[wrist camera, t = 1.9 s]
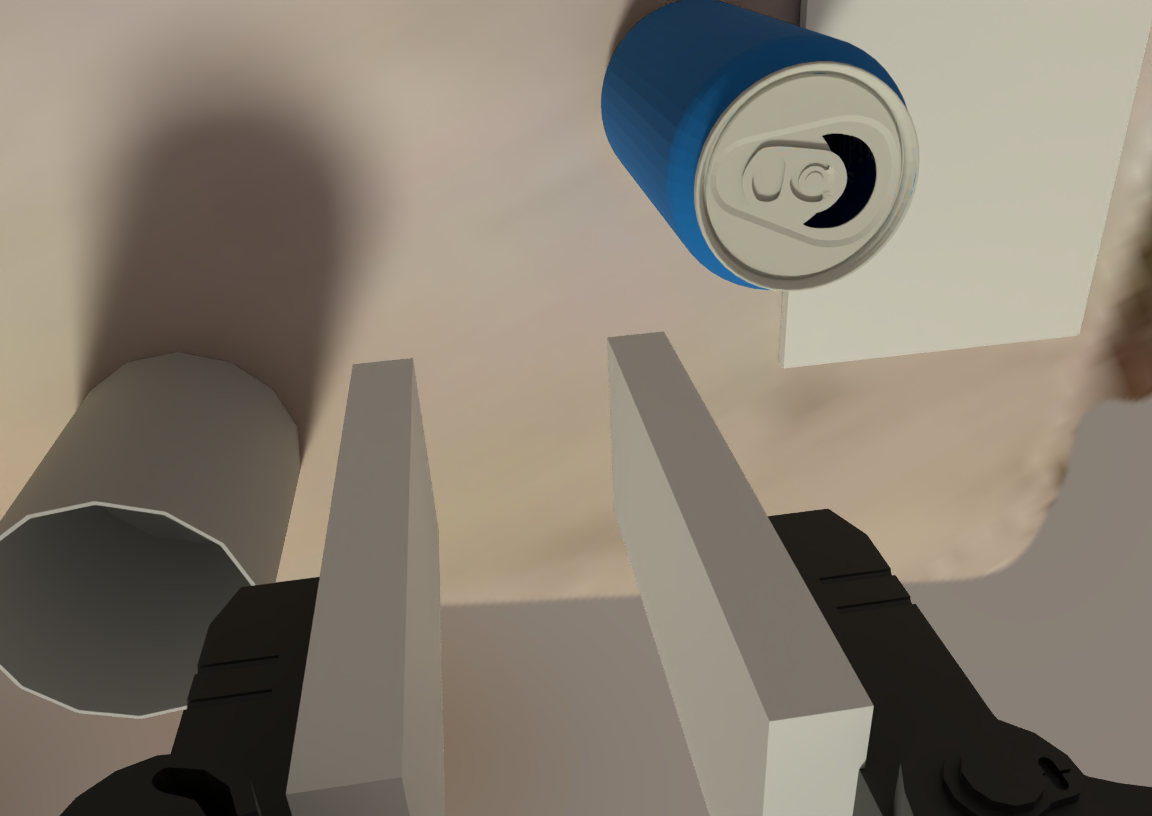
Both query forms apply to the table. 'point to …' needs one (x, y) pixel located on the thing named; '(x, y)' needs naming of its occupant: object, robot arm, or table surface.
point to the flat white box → (983, 173)
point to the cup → (143, 533)
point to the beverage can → (761, 142)
